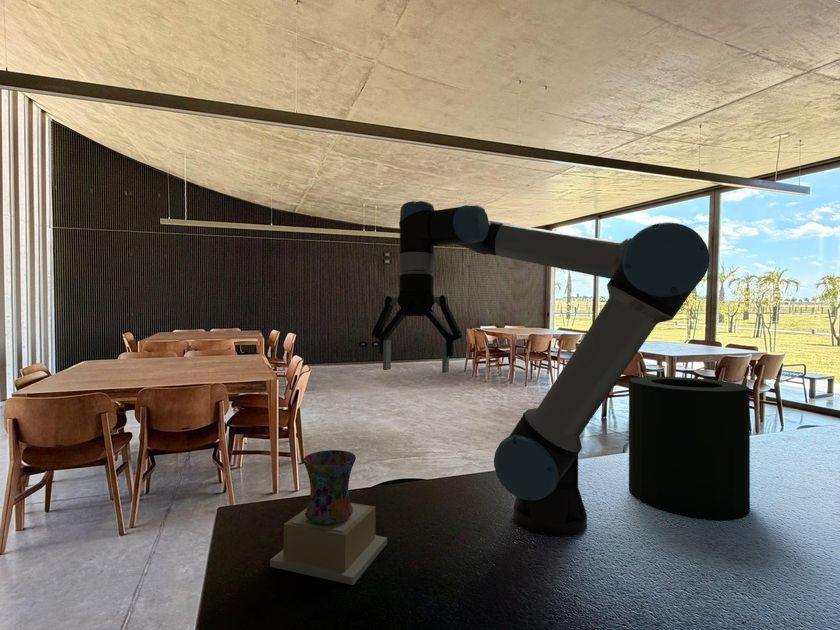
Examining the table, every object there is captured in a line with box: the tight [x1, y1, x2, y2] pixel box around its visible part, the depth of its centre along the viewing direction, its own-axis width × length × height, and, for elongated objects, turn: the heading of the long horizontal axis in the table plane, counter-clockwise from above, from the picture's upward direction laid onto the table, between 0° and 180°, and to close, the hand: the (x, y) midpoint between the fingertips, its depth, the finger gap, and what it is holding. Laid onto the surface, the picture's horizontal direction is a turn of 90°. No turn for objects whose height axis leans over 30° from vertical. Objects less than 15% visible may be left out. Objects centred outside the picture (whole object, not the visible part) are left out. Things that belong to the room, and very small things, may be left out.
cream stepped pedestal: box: [269, 502, 388, 586], centre depth 81 cm, size 16×14×7 cm
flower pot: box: [628, 376, 751, 522], centre depth 108 cm, size 25×25×28 cm
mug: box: [302, 449, 357, 524], centre depth 81 cm, size 12×9×11 cm
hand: (415, 371), depth 97 cm, fingers open, 13 cm apart
